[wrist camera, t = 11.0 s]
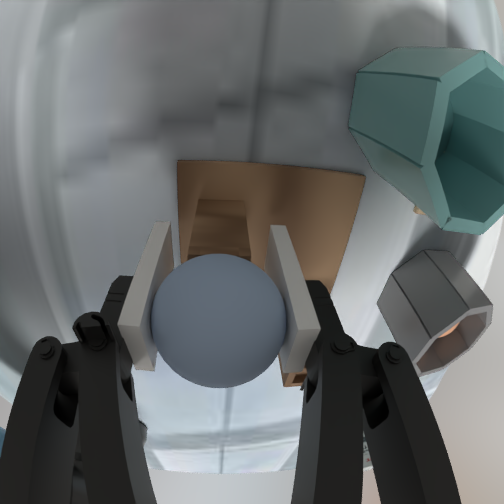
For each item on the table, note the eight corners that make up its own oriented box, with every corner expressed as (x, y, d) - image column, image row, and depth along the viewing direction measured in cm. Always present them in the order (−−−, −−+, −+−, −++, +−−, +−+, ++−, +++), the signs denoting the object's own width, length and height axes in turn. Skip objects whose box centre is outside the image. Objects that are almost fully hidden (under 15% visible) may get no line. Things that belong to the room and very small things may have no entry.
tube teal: (339, 166, 15) (400, 225, 10) (361, 34, 11) (442, 21, 5) (438, 185, 16) (501, 238, 11) (462, 80, 12) (540, 103, 6)
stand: (189, 342, 23) (186, 399, 19) (178, 160, 14) (154, 204, 10) (309, 341, 25) (323, 394, 20) (363, 175, 16) (413, 220, 11)
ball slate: (168, 314, 13) (155, 405, 9) (156, 226, 10) (121, 326, 6) (268, 316, 14) (282, 406, 10) (284, 230, 11) (316, 329, 7)
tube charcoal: (367, 322, 24) (393, 383, 18) (401, 248, 19) (448, 312, 14) (428, 315, 25) (456, 364, 19) (464, 251, 20) (506, 301, 15)
